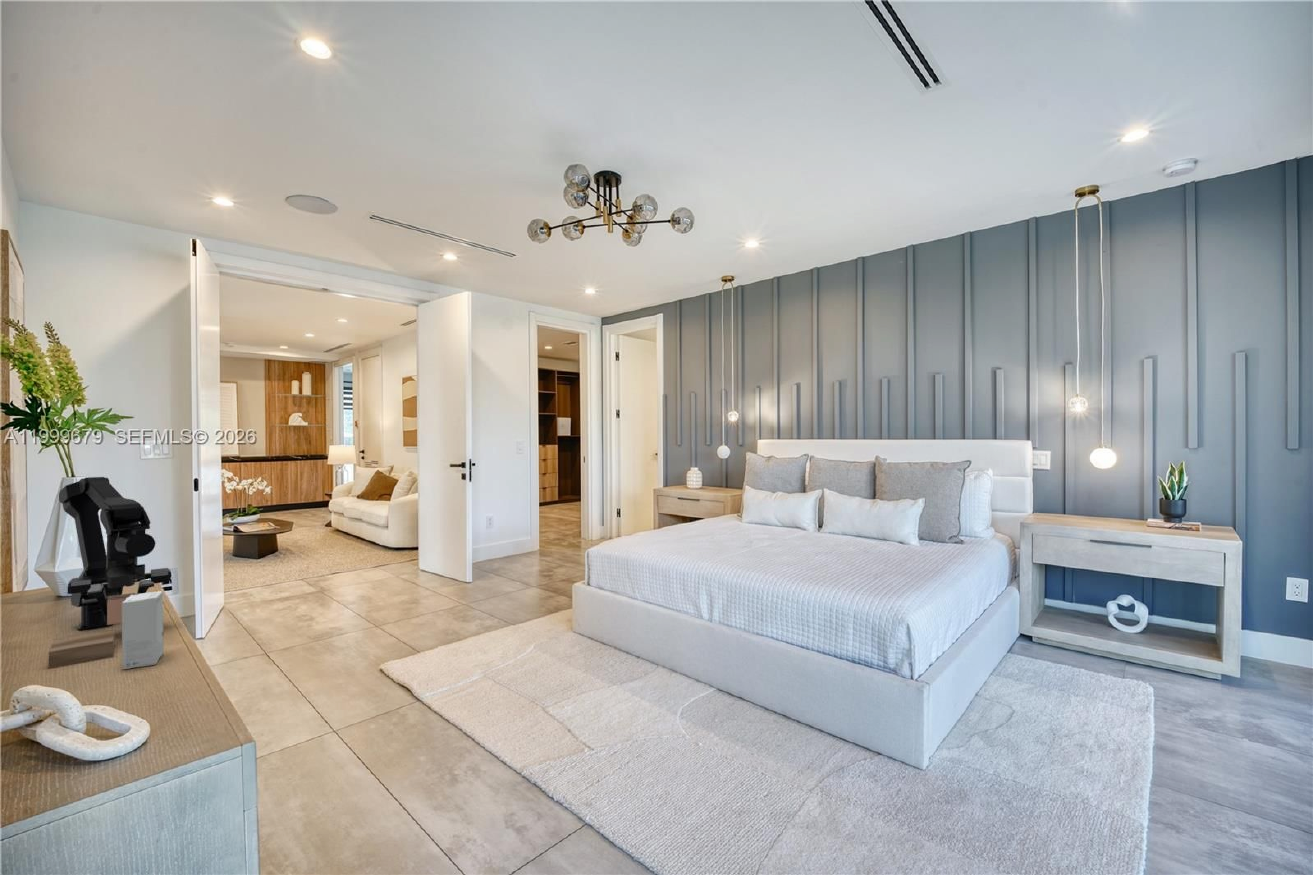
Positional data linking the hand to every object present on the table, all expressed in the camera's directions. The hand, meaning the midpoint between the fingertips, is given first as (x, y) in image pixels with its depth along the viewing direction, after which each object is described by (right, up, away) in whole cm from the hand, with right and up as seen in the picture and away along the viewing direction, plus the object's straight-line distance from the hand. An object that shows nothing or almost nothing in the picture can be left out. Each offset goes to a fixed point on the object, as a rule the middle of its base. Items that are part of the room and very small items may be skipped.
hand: (121, 614), depth 142 cm
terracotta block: (0, -2, 0) cm, 2 cm away
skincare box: (+20, -6, -16) cm, 27 cm away
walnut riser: (+4, -6, -14) cm, 15 cm away
